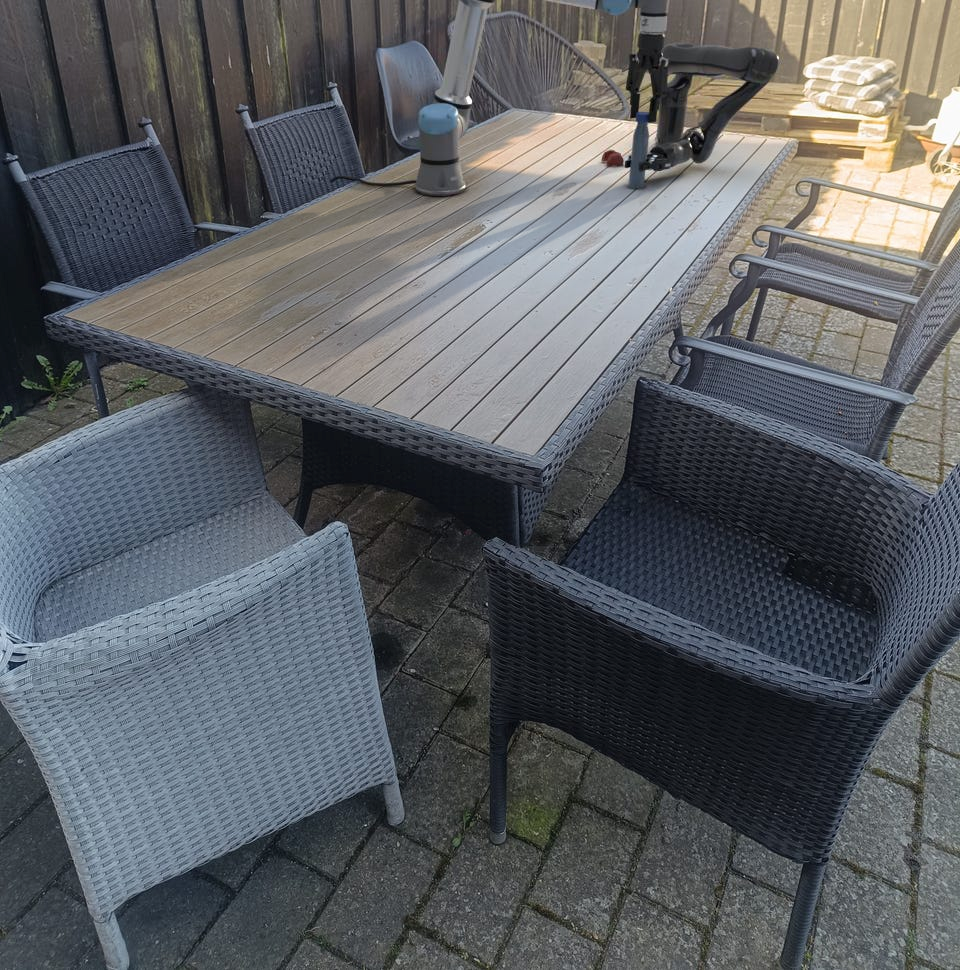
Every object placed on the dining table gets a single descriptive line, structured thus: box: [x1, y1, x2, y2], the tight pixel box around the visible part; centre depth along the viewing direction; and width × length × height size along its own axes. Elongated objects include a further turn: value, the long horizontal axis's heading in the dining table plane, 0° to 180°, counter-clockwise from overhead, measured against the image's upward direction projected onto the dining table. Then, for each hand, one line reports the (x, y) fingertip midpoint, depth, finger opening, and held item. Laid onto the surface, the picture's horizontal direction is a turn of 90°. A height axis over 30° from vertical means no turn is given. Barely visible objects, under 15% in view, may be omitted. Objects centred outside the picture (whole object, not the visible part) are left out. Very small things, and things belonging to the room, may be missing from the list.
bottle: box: [627, 121, 650, 190], centre depth 255 cm, size 5×5×20 cm
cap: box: [635, 111, 649, 123], centre depth 249 cm, size 4×4×2 cm
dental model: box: [601, 149, 625, 167], centre depth 281 cm, size 6×4×8 cm
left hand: (642, 119), depth 250 cm, fingers open, 7 cm apart
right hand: (632, 166), depth 256 cm, fingers closed on bottle, 4 cm apart
